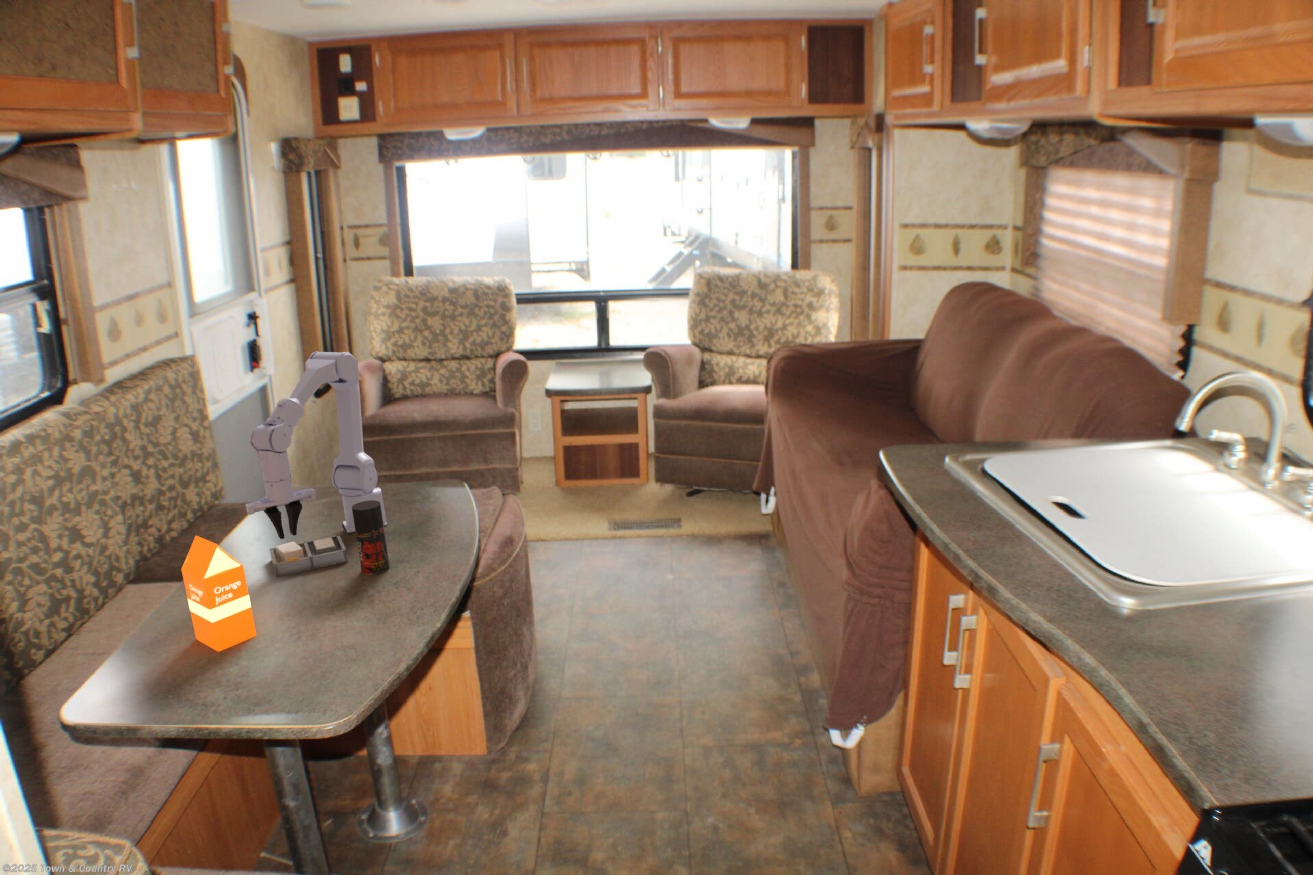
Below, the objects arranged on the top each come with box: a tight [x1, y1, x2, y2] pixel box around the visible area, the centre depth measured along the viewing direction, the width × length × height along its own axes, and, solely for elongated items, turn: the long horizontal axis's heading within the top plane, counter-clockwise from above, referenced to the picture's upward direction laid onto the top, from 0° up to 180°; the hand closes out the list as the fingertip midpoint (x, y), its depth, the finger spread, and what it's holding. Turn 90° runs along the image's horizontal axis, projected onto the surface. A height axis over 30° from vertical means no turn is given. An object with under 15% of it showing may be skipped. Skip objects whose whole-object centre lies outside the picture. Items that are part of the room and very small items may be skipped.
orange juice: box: [180, 535, 257, 652], centre depth 177 cm, size 8×9×20 cm
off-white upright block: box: [275, 541, 304, 563], centre depth 213 cm, size 4×6×4 cm, turn 38°
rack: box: [269, 534, 349, 578], centre depth 214 cm, size 15×11×3 cm
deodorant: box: [352, 500, 390, 576], centre depth 205 cm, size 6×6×15 cm
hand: (287, 535), depth 211 cm, fingers open, 2 cm apart
